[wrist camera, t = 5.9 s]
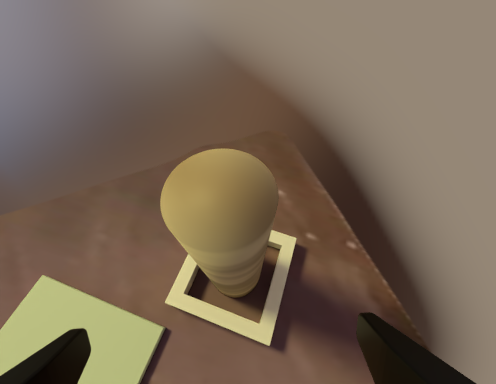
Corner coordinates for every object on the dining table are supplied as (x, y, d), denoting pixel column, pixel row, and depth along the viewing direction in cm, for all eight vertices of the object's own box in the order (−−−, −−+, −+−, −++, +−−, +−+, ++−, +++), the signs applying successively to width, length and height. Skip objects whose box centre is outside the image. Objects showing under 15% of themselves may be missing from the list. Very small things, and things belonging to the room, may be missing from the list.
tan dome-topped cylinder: (250, 305, 18) (257, 270, 7) (203, 287, 18) (136, 226, 7) (265, 256, 20) (290, 164, 8) (222, 241, 20) (193, 138, 9)
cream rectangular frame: (268, 344, 16) (269, 346, 15) (169, 303, 18) (164, 302, 17) (293, 242, 20) (296, 238, 19) (211, 215, 22) (209, 209, 21)
